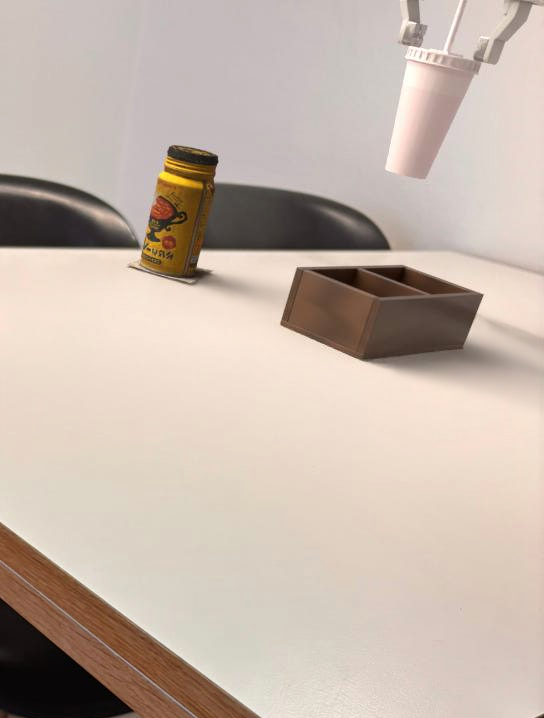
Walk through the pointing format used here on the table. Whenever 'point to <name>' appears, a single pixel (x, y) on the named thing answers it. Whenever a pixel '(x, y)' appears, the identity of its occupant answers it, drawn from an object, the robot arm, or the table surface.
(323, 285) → the box
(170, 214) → the condiment
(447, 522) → the table surface
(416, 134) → the smoothie
